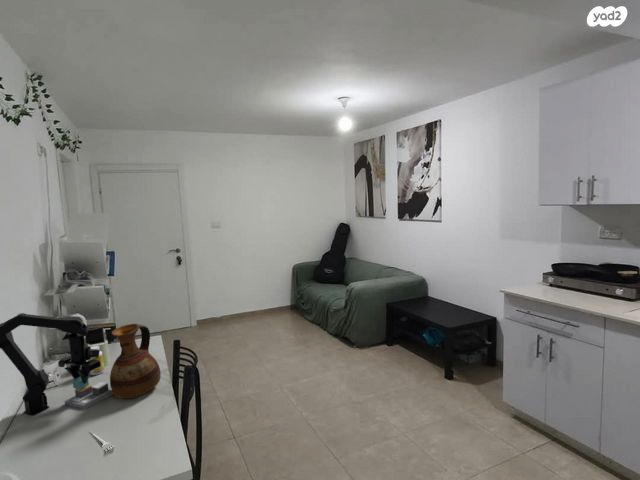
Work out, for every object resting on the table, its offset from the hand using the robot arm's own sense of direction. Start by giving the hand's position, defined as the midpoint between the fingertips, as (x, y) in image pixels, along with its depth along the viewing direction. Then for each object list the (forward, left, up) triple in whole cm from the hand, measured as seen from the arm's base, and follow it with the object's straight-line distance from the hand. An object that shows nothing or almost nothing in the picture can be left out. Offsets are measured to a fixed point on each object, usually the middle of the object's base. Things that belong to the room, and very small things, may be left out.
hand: (81, 382), depth 162 cm
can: (+29, +27, -8) cm, 40 cm away
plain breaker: (+4, -5, -6) cm, 9 cm away
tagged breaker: (0, 0, -6) cm, 6 cm away
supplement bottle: (+21, +19, -8) cm, 29 cm away
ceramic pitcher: (+13, -17, -8) cm, 22 cm away
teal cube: (0, 0, -2) cm, 2 cm away
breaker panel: (+1, -2, -8) cm, 8 cm away
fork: (-18, -34, -8) cm, 40 cm away
